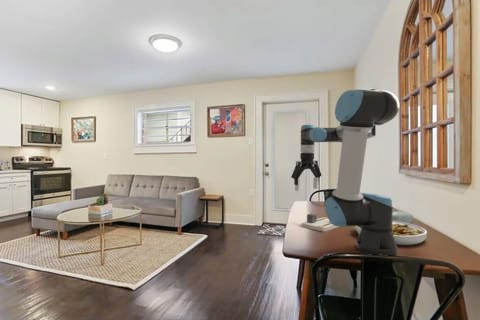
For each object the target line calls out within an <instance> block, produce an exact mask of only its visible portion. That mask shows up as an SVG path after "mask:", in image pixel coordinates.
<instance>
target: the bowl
mask: <svg viewBox="0 0 480 320" xmlns="http://www.w3.org/2000/svg"><path fill="white" fill-rule="evenodd" d="M354 227H355V231H356V233H357V234H358V235H359V234H360V231H361V226H354ZM392 233H393V236H394V239H395V241H396V244H397V246H413V245H417V244H421V243H423V242H424V241H425V240H426V238H427V235H428V231H427V230H426V229H425V228H423V227H421V226H419V225H416V224H413V223H412V224H408V223H404V222H398V221H392Z"/></svg>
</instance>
